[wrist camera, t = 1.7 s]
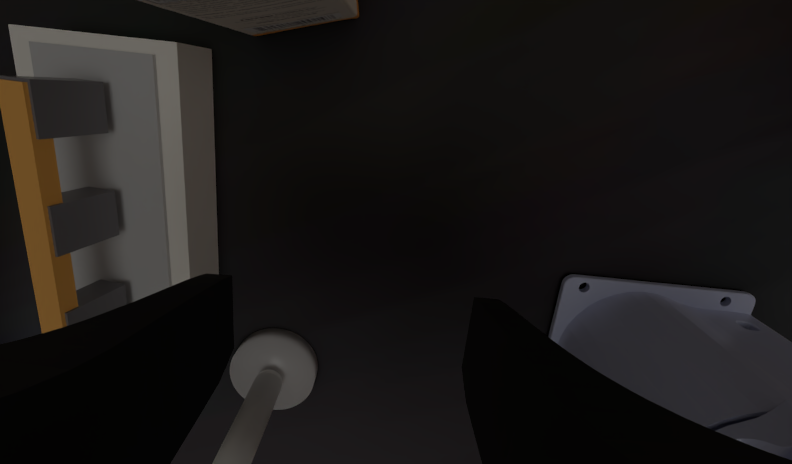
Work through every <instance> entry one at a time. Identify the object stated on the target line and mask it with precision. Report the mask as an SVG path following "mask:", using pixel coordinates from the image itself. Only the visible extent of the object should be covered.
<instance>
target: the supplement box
mask: <svg viewBox="0 0 792 464" xmlns="http://www.w3.org/2000/svg"><path fill="white" fill-rule="evenodd" d="M138 1H141V2H144V3H148V4H152V5H154V6H157V7H160V8H164V9H167V10H171V11H174V12H177V13H181V14H184V15H187V16H190V17H194V18H198V19H200V20H204V21H207V22H211V23H214V24H217V25H220V26H223V27H227V28H230V29H233V30H236V31H240V32H243V33H246V34H249V35H253V36H260V35H265V34H270V33H276V32H281V31H286V30H292V29H297V28H302V27H307V26H312V25H318V24H324V23H329V22H334V21H340V20H346V19H356V18H358V17H359V7H358V0H138Z"/></svg>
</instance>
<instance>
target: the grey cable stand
mask: <svg viewBox="0 0 792 464" xmlns="http://www.w3.org/2000/svg"><path fill="white" fill-rule="evenodd" d="M317 371H318V361H317V357H316V354H315V352H314V350H313V348H312V347H311V345H310V344H309V343H308V342H307V341H306V340H305V339H304V338H302V337H301V336H299V335H298V334H296V333H294V332H291V331H289V330H285V329H280V328H266V329H262V330H259V331H256V332H254V333H252V334H251V335H249V336H248V337H247V338H246V339H245V340H244V341H243V342H242V343H241V345H240V347H239V348H238V350H237V351H236V353H235V355H234V356H233V358H232V361H231V364H230V377H231V381H232V383H233V386H234V387H235V389H236V390H237V392H238V393H239V394H240V395H241V396H242V397H243V398H244V399H245V400H244V402H243V404H242V406H241V408H240V410H239V412H238V414H237V416H236V418H235V420H234V421H233V423H232V425H231V427H230V429H229V431H228V433H227V435H226V437H225V439H224V441H223V443H222V445H221V447H220V449H219V451H218V453H217V455H216V457H215V459H214V461H213V463H212V464H251V463H252V460H253V458H254V455H255V453H256V450H257V448H258V445H259V443H260V440H261V438H262V435H263V433H264V431H265V428H266V426H267V423H268V421H269V418H270V416H271V413H272V411H273V410H282V409H288V408H291V407H294V406H296V405H298V404H300V403H301V402H302V401H304V400H305V399H306V398H307V397H308V395H309V394H310V392H311V390H312V388H313V385H314V382H315V378H316V375H317Z"/></svg>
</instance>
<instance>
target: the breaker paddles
mask: <svg viewBox="0 0 792 464" xmlns="http://www.w3.org/2000/svg"><path fill="white" fill-rule="evenodd" d="M0 107H1V113H2V118H3V124H4V129H5V135H6V140H7V145H8V151H9V156H10V162H11V167H12V173H13V178H14V184H15V189H16V194H17V200H18V205H19V211H20V216H21V222H22V227H23V233H24V238H25V243H26V249H27V254H28V260H29V265H30V271H31V276H32V282H33V287H34V292H35V298H36V303H37V309H38V314H39V320H40V325H41V331H42V333H46V332H49V331H52V330H56V329H59V328H62V327H65V326H68V325H72V324H75V323H78V322H81V321H84V320H86V319H89V318H92V317H95V316H97V315H100V314H103V313H105V312H108V311H111V310H113V309H116V308H118V307H121V306H124V305H126V304H127V299H126V289H125V284H120V283H116V282H111V281H106V280H102V279H100V280H98V281H95V282H93V283H91V284H89V285H87V286H85V287H82V288H80V289H78V290H76V287H75V280H74V274H73V267H72V260H71V254H70V253H71V252H74V251H76V250H79V249H82V248H84V247H87V246H90V245H93V244H95V243H98V242H101V241H104V240H106V239H109V238H112V237H115V236H117V235H120V234H119V225H118V216H117V207H116V198H115V191H112V190H107V189H101V188H95V187H89V186H88V187H83V188H79V189H74V190H70V191H65V192H61V187H60V180H59V173H58V167H57V160H56V153H55V146H54V140H53V138H61V137H72V136H83V135H93V134H104V133H108V124H107V115H106V106H105V97H104V87H103V82H100V81H92V80H83V79H75V78H52V77H29V76H5V75H0Z"/></svg>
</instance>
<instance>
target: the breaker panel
mask: <svg viewBox="0 0 792 464" xmlns="http://www.w3.org/2000/svg"><path fill="white" fill-rule="evenodd" d="M8 26H9V32H10V38H11V44H12V50H13V56H14V62H15V68H16V74H17V76H29V77H52V78H75V79H83V80H92V81H100V82H103V87H104V97H105V106H106V115H107V124H108V133H104V134H93V135H83V136H72V137H61V138H53V140H54V146H55V153H56V160H57V167H58V173H59V180H60V187H61V192H65V191H70V190H74V189H79V188H83V187H88V186H89V187H95V188H101V189H107V190H112V191H115V198H116V207H117V216H118V225H119V234H120V235H117V236H115V237H112V238H109V239H106V240H104V241H101V242H98V243H95V244H93V245H90V246H87V247H84V248H82V249H79V250H76V251H74V252H71V253H70V254H71V260H72V267H73V274H74V280H75V287H76V290H78V289H80V288H82V287H85V286H87V285H89V284H91V283H93V282H95V281H98V280H100V279H102V280H106V281H111V282H116V283H120V284H125V289H126V299H127V304H129V303H132V302H134V301H137V300H139V299H142V298H144V297H146V296H149V295H151V294H154V293H156V292H159V291H161V290H163V289H166V288H168V287H171V286H173V285H175V284H178V283H180V282H183V281H185V280H188V279H191V278H193V277H196V276H199V275H203V274H207V273H208V274H219V262H218V231H217V200H216V169H215V138H214V107H213V76H212V49H209V48H203V47H198V46H193V45H188V44H183V43H178V42H169V41H160V40H150V39H141V38H132V37H123V36H113V35H104V34H95V33H86V32H76V31H67V30H58V29H48V28H39V27H30V26H21V25H11V24H8Z"/></svg>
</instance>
